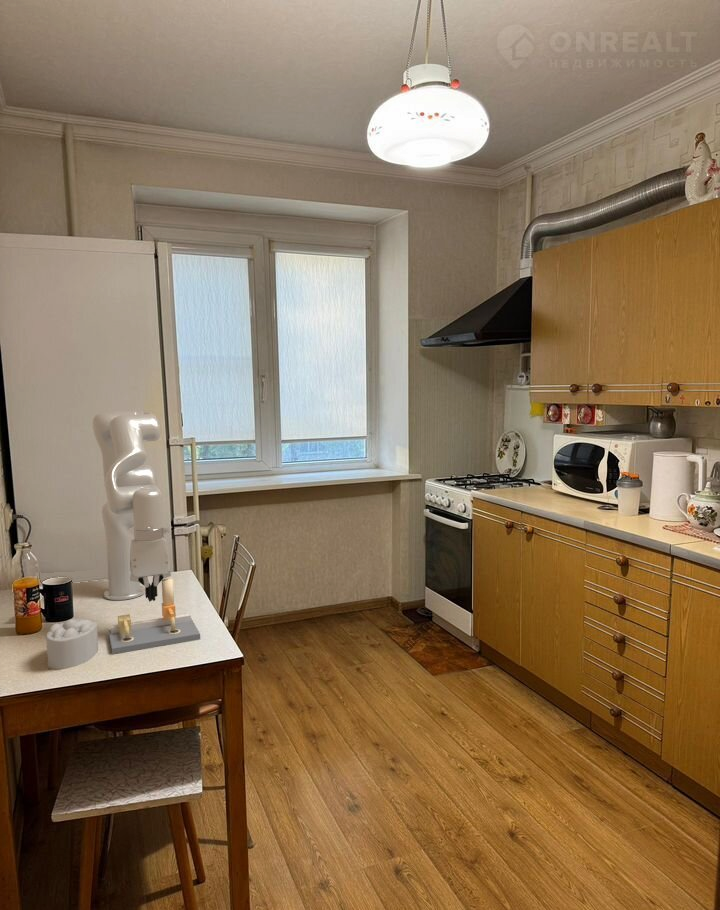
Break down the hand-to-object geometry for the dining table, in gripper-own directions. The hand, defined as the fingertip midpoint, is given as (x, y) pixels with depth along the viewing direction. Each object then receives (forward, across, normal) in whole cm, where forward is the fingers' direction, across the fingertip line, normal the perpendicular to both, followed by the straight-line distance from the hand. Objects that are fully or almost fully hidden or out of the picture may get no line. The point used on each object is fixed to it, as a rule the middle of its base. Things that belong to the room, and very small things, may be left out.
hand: (151, 599), depth 173 cm
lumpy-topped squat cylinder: (+9, +21, +9) cm, 24 cm away
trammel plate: (+9, 0, +4) cm, 10 cm away
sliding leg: (+7, -4, +3) cm, 9 cm away
